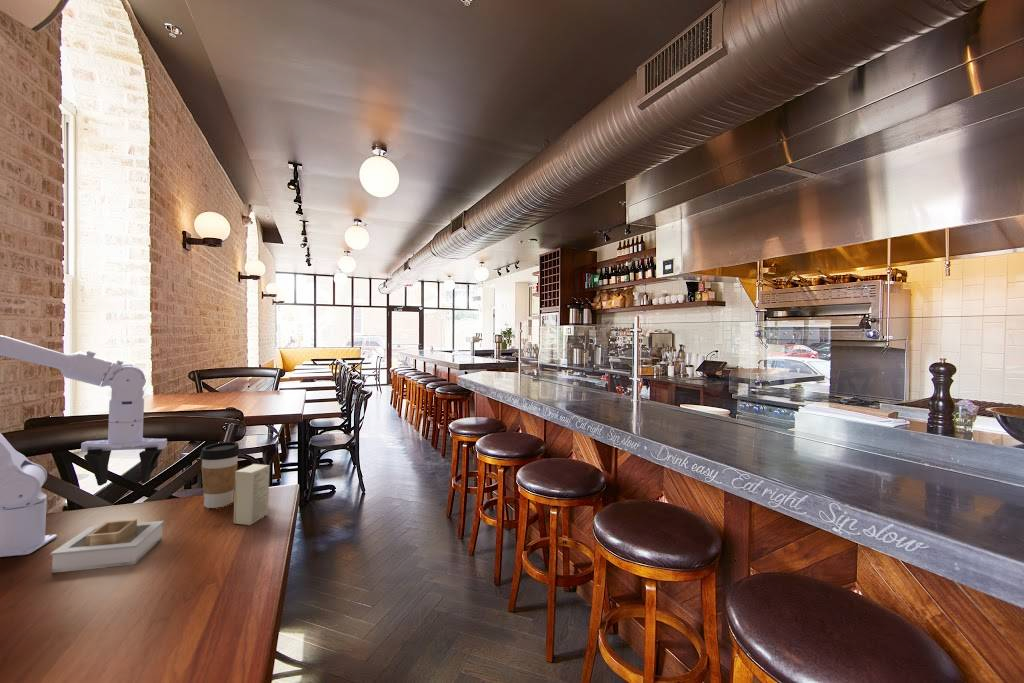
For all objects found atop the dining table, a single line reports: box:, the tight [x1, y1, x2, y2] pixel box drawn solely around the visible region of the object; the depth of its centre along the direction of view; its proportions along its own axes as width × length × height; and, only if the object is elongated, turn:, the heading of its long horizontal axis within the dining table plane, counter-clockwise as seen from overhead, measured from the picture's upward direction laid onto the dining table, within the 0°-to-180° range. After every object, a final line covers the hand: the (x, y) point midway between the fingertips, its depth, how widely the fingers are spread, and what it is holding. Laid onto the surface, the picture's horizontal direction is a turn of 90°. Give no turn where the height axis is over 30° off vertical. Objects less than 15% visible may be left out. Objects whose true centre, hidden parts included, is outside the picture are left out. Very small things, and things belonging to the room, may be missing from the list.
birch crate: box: [86, 518, 138, 546], centre depth 85 cm, size 5×6×4 cm
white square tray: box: [50, 520, 165, 574], centre depth 84 cm, size 12×11×4 cm
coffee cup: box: [199, 441, 241, 509], centre depth 111 cm, size 8×8×15 cm
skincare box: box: [232, 463, 271, 526], centre depth 102 cm, size 6×4×12 cm
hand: (124, 482), depth 95 cm, fingers open, 7 cm apart
